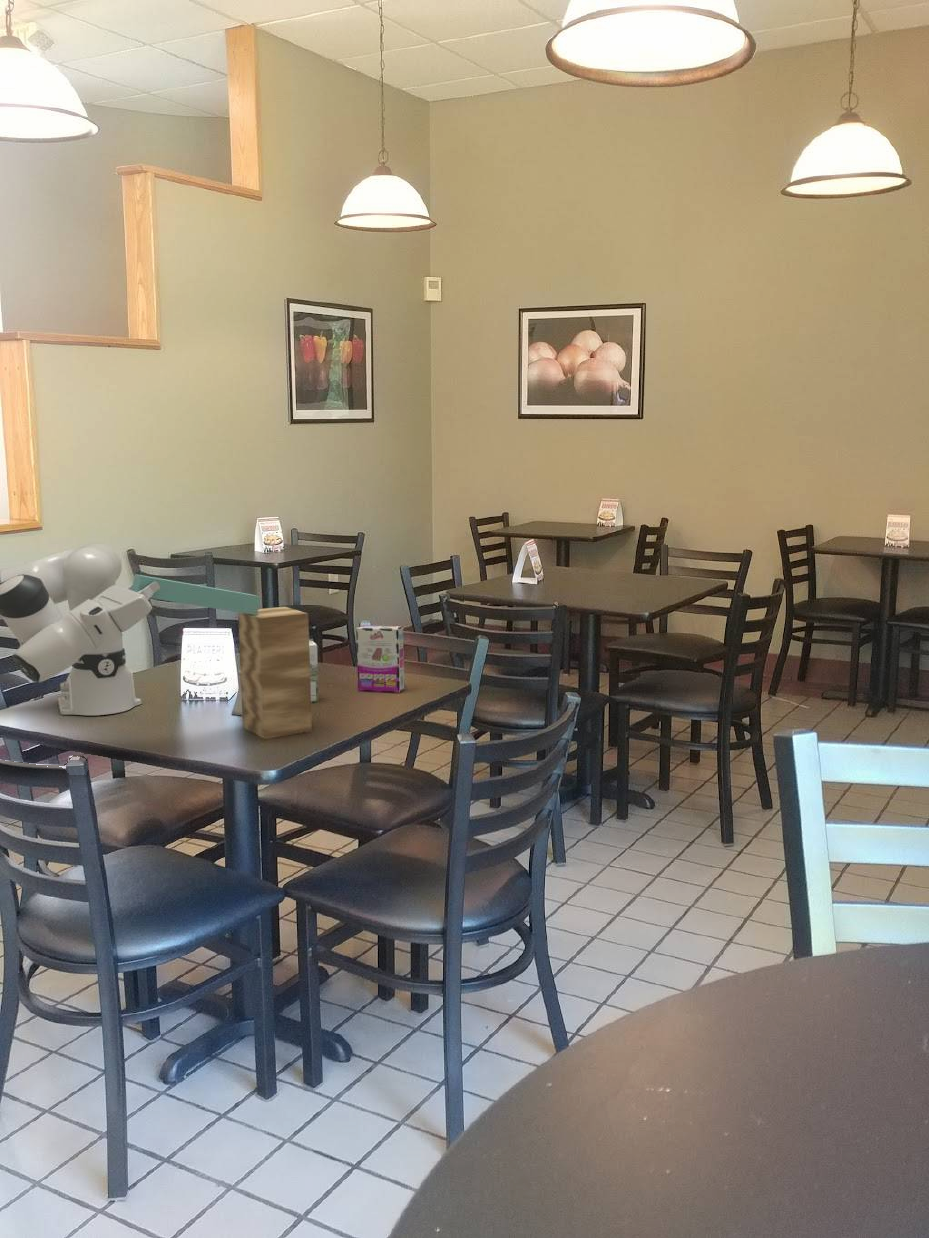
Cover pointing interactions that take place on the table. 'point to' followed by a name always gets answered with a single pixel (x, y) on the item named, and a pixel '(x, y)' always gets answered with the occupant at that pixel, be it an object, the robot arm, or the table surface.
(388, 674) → the candy bar box
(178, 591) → the teal block
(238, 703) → the flask
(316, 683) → the syrup box
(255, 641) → the oak stand
